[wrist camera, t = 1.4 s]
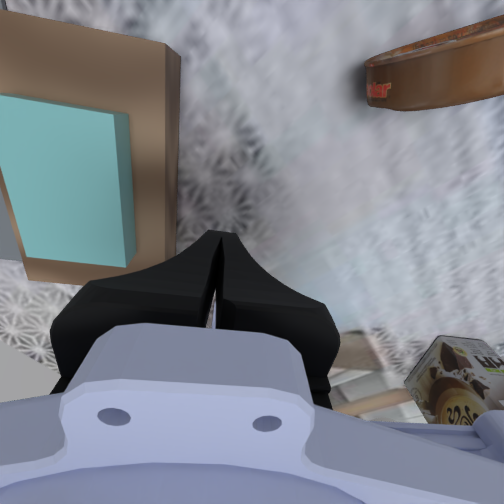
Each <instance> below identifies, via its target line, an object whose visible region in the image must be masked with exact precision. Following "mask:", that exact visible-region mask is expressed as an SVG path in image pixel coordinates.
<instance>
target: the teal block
mask: <svg viewBox="0 0 504 504" xmlns="http://www.w3.org/2000/svg"><path fill="white" fill-rule="evenodd" d="M0 167H1V171H2V174H3V177H4V181H5V184H6V188H7V191H8V194H9V198H10V201H11V205H12V208H13V212H14V215H15V218H16V222H17V225H18V229H19V232H20V236H21V239H22V242H23V246H24V249H25V253H26V256H27V257H33V258H42V259H51V260H60V261H70V262H79V263H88V264H97V265H107V266H116V267H125V268H126V267H127V265H128V264H129V263H130V261H131V260H132V258H133V257H134V255H135V254H136V236H135V219H134V202H133V184H132V167H131V150H130V132H129V115H128V114H127V113H121V112H116V111H110V110H104V109H98V108H93V107H87V106H81V105H75V104H70V103H64V102H58V101H52V100H47V99H41V98H35V97H29V96H24V95H18V94H12V93H0Z"/></svg>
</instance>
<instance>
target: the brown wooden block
mask: <svg viewBox="0 0 504 504" xmlns="http://www.w3.org/2000/svg"><path fill="white" fill-rule="evenodd" d="M180 66H181V57H180V56H179V55H178V54H177V53H176V52H175V51H173V50H172V49H171V48H170V47H169V46H168V45H166V44H165V43H161V42H156V41H151V40H146V39H142V38H137V37H132V36H127V35H122V34H117V33H113V32H108V31H103V30H98V29H93V28H89V27H84V26H79V25H74V24H69V23H64V22H60V21H55V20H50V19H45V18H40V17H36V16H31V15H26V14H21V13H16V12H12V11H7V10H2V9H0V93H12V94H18V95H24V96H29V97H35V98H41V99H47V100H52V101H58V102H64V103H70V104H75V105H81V106H87V107H93V108H98V109H104V110H110V111H116V112H121V113H127V114H128V115H129V132H130V150H131V167H132V184H133V202H134V219H135V236H136V254H135V255H134V257H133V258H132V260H131V261H130V263H129V264H128V265H127V267H126V268H125V267H116V266H107V265H97V264H88V263H79V262H70V261H60V260H51V259H42V258H33V257H27V256H26V253H25V249H24V246H23V242H22V239H21V236H20V232H19V229H18V225H17V222H16V218H15V215H14V212H13V208H12V205H11V201H10V198H9V194H8V191H7V188H6V184H5V181H4V177H3V174H2V171H1V167H0V188H1V192H2V195H3V198H4V201H5V205H6V208H7V211H8V215H9V218H10V221H11V224H12V228H13V231H14V234H15V238H16V241H17V244H18V248H19V251H20V254H21V257H22V261H23V264H24V267H25V271H26V274H27V277H28V280H31V281H42V282H52V283H62V284H72V285H82V286H84V285H85V284H86V283H87V282H88V281H90V280H97V279H103V278H109V277H115V276H120V275H124V274H128V273H132V272H136V271H140V270H143V269H146V268H149V267H151V266H154V265H157V264H159V263H162V262H164V261H166V260H168V259H170V258H172V257H174V256H176V224H177V184H178V145H179V105H180Z"/></svg>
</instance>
